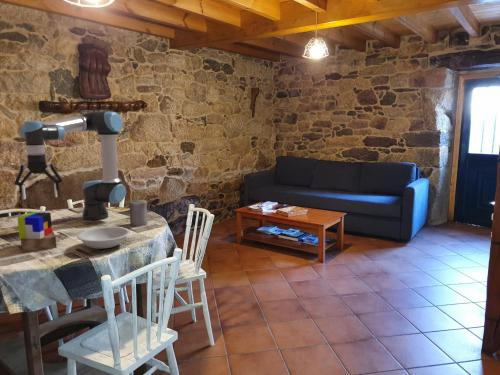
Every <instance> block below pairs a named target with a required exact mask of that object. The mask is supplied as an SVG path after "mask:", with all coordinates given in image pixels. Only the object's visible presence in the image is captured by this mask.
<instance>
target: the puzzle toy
mask: <svg viewBox="0 0 500 375" xmlns="http://www.w3.org/2000/svg"><path fill="white" fill-rule="evenodd" d="M52 226H53V225H52V213H51V212H28V213H26V214H23V215H21V216H19V217H17V227H18V238H19V239H21V238H22V239H41V238H43V237H45V236H47V235H49V234H51V233H52V230H53V227H52Z"/></svg>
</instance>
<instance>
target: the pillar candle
mask: <svg viewBox="0 0 500 375" xmlns="http://www.w3.org/2000/svg"><path fill="white" fill-rule="evenodd" d="M128 202H129V204H128V205H129V221H130V226H131V227H143V226H142V225H144V226H146V225H145V224H147V225H148V206H147V205H148V204H147V200H146V199H145V200H144V199H134V200H130V201H128Z"/></svg>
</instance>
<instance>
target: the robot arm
mask: <svg viewBox="0 0 500 375" xmlns="http://www.w3.org/2000/svg"><path fill="white" fill-rule="evenodd" d="M122 128H123V120H122V118H121V116H120V115H119V114H118V113H117V112H115V111H108V110H107V111H96V110H95V111H90V112H85V113H81V114H80V113H79V114H76V115H75V116H74V117H69V118H63V119H57V120H51V121H45V122H42V121H41V120H27V121H24V123H23V124H22V125H21V127H20V128H19V134H20V136H21V137H22V138H23V139H25V147H26V148H25V149H26V154H27V157H26V160H27V164H21V165H20V169H19V172H18V175H17V176H16V179H15V181H14V183H13V184H14V185H16V186H18V187H19V188H18V189H19V193H22V199H23V201H25V200H26V199H27V195H26V186H25V185H24V183H25V182H26V181H27V180H28V179H29V177H30V176H31V175H32V174H33V175H36V174H37V175H38V174H39V175H40V174H44V175H46V177H47V178H49V179H50V180H51V181H53V182H54V183H53V188H54V190H53V191H54V198H58V191H59V190H60V185H59V184H60V183H62V182H63V178H62V177H61V175H60V174H59V172H58V170H56V168H55V166H54V163H47V162H46V161H47V159H46V155H45V154H46V149H45V141H58V140H62V139H64V138H65V135H66V134H67V133H72V132H97V136H98V137H99V138H100V147H101V148H100V149H101V164H102V179H98V180H97V179H96V180H90V181H84V182H83V184H82V185H83V186H82V192H83V202H84V206H83V211H82V214H81V217H82V218H81V219H82V220H85V221H99V220H100V221H101V220H104V219H107V218H109V212H108V209H107V207H106V204H105V203H109V204H120V203H121V202H123V201H124V199H125V197H126V195H127V188H126V186H125V185H124V184H122V179H120V178H119V166H118V165H119V164H118V163H119V162H118V148H117V147H118V146H117V137H118V136H119V134H120V131H122ZM47 168H49V169H50V170H51V171H52V172H53V174H54V175H53V174H51V172H49V171H48V170H47ZM26 169H28V170H29V171H28V173H27V174H26V175H25V176H24V177H23V179H22V180H21V178H22V175H23V173H24V171H25V170H26ZM54 176H55V177H54ZM20 180H21V181H20Z"/></svg>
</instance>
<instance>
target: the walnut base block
mask: <svg viewBox="0 0 500 375" xmlns="http://www.w3.org/2000/svg"><path fill="white" fill-rule="evenodd" d="M20 243H21V244H20V245H21V246H20V247H21V251H22V254H25V252H26V253H31V252H38V251H43V250H50V249H57V237H56V234H55V233H54V230H53V229H52V233H51V234H49V235H47V236H45V237H43V238H41V239H22V238H20Z"/></svg>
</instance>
